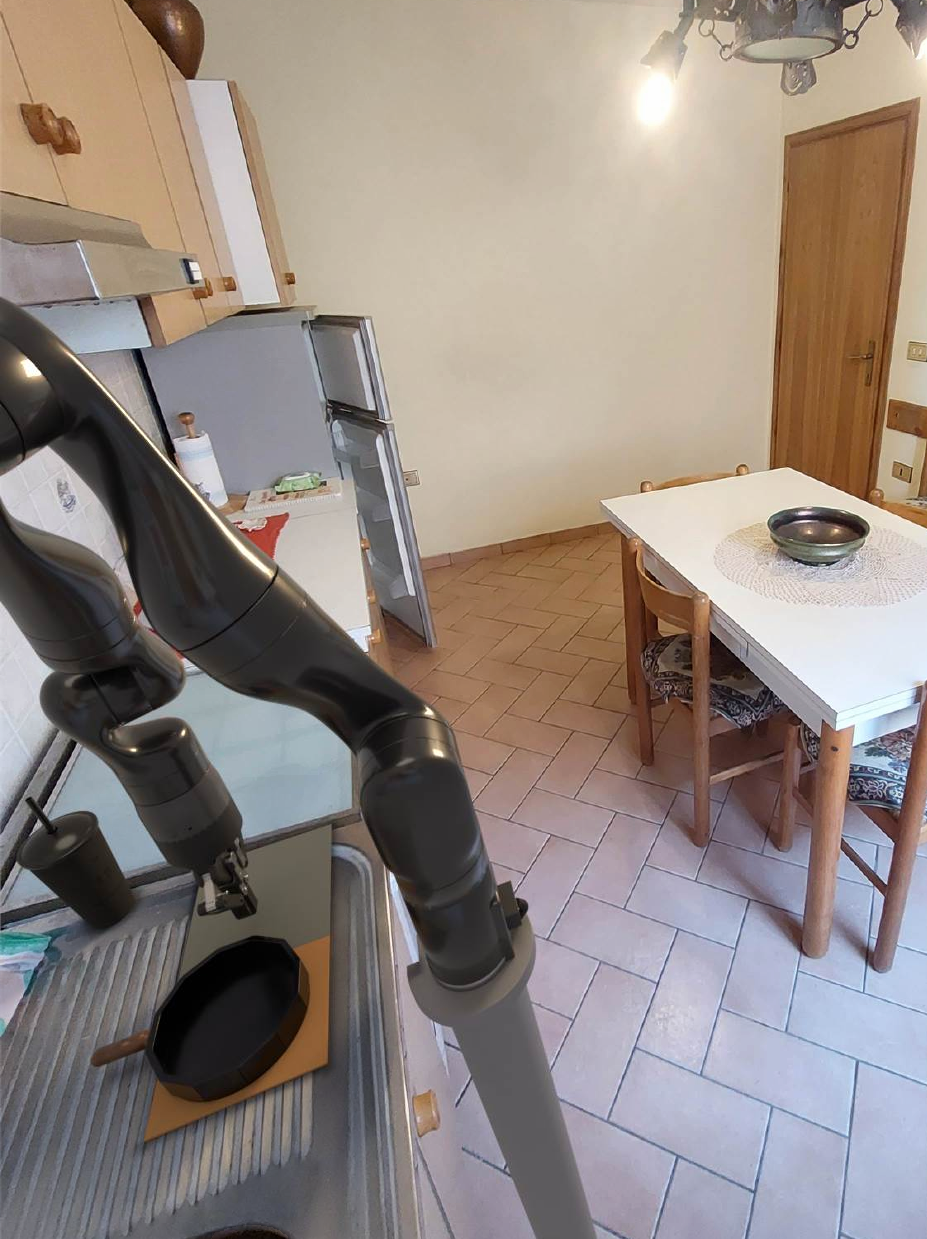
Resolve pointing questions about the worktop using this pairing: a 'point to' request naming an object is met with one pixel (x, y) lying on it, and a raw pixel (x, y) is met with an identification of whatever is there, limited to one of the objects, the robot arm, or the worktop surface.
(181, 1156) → the worktop surface
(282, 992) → the skillet
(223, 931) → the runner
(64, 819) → the drinking cup
